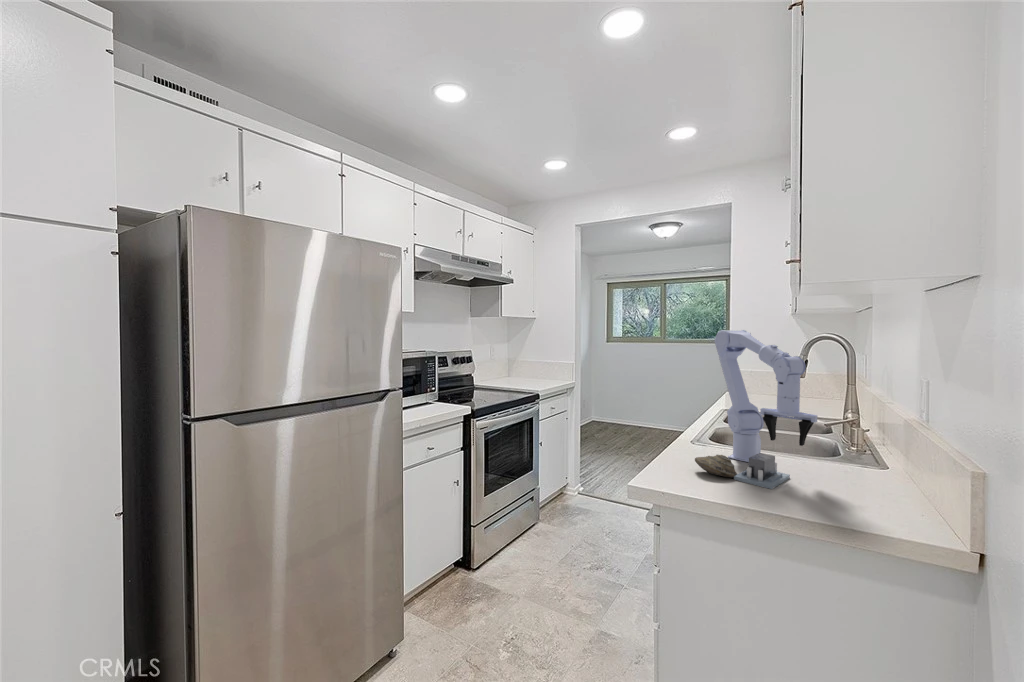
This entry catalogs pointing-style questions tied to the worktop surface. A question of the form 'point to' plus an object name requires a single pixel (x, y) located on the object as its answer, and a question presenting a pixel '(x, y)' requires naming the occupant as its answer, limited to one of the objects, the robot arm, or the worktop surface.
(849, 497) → the worktop surface
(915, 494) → the worktop surface
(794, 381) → the robot arm
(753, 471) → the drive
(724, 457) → the fossilized seashell
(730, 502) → the worktop surface
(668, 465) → the worktop surface
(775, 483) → the grey pegged plate
